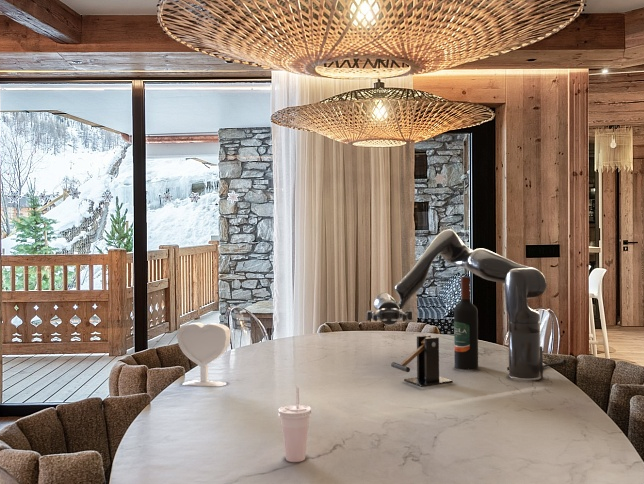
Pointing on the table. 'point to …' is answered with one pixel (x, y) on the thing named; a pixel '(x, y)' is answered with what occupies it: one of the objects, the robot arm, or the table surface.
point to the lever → (409, 358)
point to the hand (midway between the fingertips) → (389, 317)
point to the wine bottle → (466, 330)
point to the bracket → (428, 364)
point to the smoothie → (295, 429)
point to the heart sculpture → (203, 347)
